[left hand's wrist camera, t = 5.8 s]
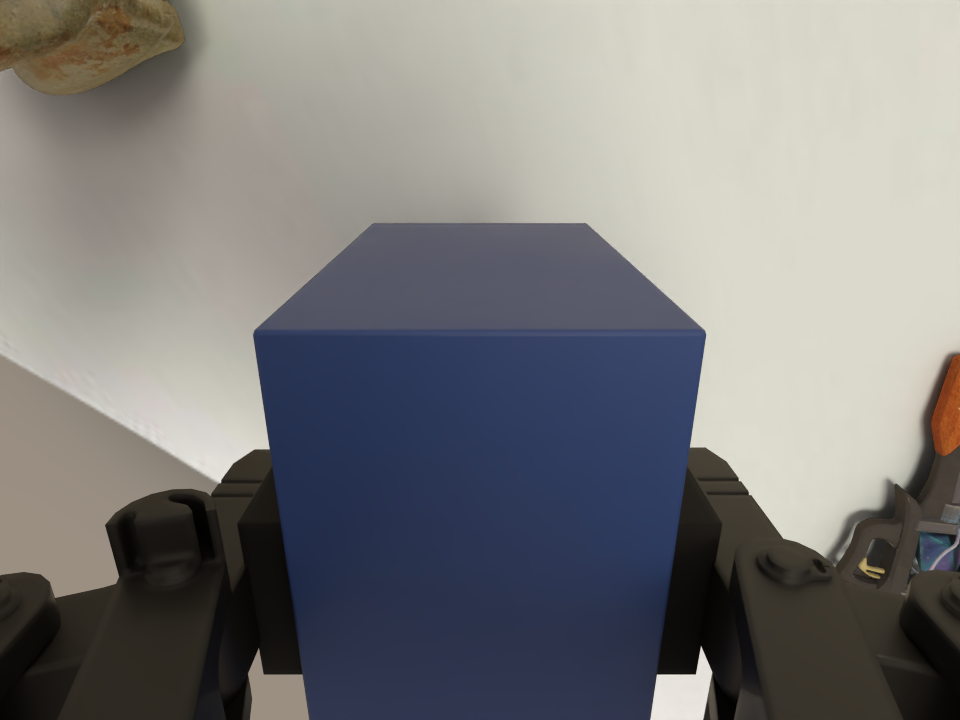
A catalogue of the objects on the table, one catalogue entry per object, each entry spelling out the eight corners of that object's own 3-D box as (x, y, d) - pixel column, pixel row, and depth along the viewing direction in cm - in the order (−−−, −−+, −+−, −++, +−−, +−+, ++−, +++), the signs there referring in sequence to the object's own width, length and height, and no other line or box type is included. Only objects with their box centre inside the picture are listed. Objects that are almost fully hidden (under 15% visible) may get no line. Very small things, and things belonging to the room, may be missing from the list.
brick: (567, 527, 17) (635, 833, 10) (391, 527, 17) (323, 833, 10) (587, 223, 14) (709, 330, 6) (372, 222, 14) (249, 330, 6)
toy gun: (768, 667, 33) (961, 694, 32) (852, 334, 28) (1086, 355, 27) (753, 632, 36) (930, 656, 35) (827, 322, 30) (1039, 341, 29)
